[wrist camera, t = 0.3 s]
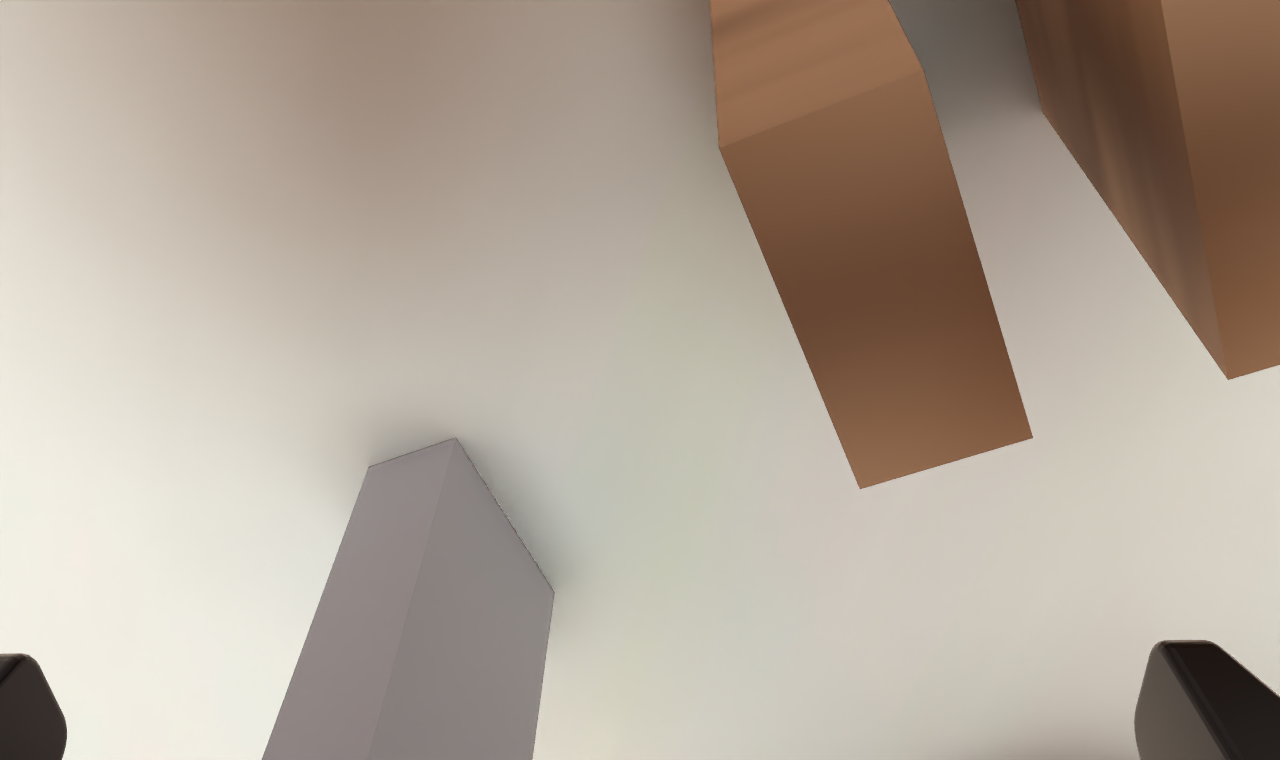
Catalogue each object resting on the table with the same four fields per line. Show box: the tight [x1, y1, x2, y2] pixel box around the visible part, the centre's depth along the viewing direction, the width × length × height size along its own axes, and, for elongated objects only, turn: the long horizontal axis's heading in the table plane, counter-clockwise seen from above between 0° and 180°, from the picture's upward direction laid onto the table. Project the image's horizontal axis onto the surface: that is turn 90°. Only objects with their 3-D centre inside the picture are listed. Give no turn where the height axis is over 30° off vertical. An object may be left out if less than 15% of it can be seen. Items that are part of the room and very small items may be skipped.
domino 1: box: [710, 0, 1033, 489], centre depth 17 cm, size 5×2×8 cm, turn 23°
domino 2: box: [1016, 0, 1280, 380], centre depth 16 cm, size 5×2×8 cm, turn 23°
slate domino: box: [262, 438, 554, 760], centre depth 23 cm, size 5×2×8 cm, turn 23°
